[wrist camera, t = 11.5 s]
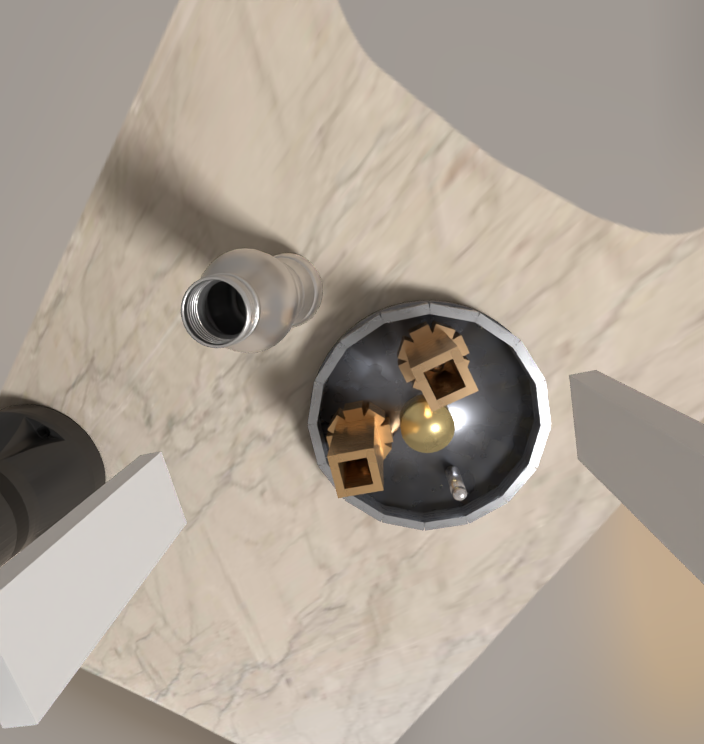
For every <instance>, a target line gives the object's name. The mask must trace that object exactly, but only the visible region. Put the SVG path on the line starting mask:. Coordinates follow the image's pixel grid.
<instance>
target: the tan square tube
mask: <svg viewBox="0 0 704 744" xmlns="http://www.w3.org/2000/svg"><path fill="white" fill-rule="evenodd" d="M408 331H409V333H410V335H411V337H412V338H409V337H406V336H403V337H402V340H401V343H400V346H399V348H398V351H397V357H398V358H399V360H397V362H398V366H399V368H400V370H401V372H402V374H403V376H404V378H405V380H406V382H410V381H411V383H412V387H413V388H415V389H418V390H421V391H422V393H423V395H424V397H425V399H426V401H427V403H428V405H429V407H430V409H431V411H432V412H433V411H435V410H437V409H440V408H442V407H444V406H446V405H448V404H451V403H453V402H455V401H457V400H459V399H462V398H464V397H466V396H468V395H470V394H473V393H475V392H477V391H479V390H478V388H477V386H476V384H475V382H474V380H473V378H472V375H471V373H470V371H469V369H468V364H469V362H470V360H469V359H468V358H467V357H466V356H465V355H467V354H469V350H468V348H467V346H466V344H465V342H464V340H463V338H462V335H461V334H459V333H458V332H455V329H454V328H453V327H452V326H448V325H445V324H442V323H439V322H436V321H433V322H432V325H431V328H430V327H429V325H428V324H427V322H426V321H425V322H423V323H421V324H419V325H417V326H415V327H413V328H411V329H409V330H408ZM443 363H444V368H443V369H442V370H441V371H440V372H433V371H431V370H430V369H432V368H434V367H436V366H438V365H441V364H443Z"/></svg>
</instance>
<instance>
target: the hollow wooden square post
mask: <svg viewBox="0 0 704 744" xmlns="http://www.w3.org/2000/svg"><path fill="white" fill-rule="evenodd" d="M327 430H328V433H327V436H326V438H327V442H328V445H329V451H328V455H327V458H328V462H329V466H330V469H331V473H332V477H333V481H334V484H335V488H336V492H337V496H338V498H342V497H348V496H354V495H359V494H365V493H371V492H377V491H383V490H384V480H383V460H384V459H385V458H386V456H387V455H388V453H389V452H390V451H391V449H392V442H393V432H392V428H391V423H390V419H389V416H388V417H385V411H384V410H383V409H381V408H380V407H378V406H376V405H375V404H373V403H371V402H369V403H368V405H367V406H366V408H364V404H363V400H361V401H356V402H351V403H346V404H345V406H344V409H341V408H339V409H338V410H337V412H336V413H335V415H334V416H333V418H332V419H331V421H330V423H329V426H328V429H327Z"/></svg>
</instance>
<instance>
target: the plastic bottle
mask: <svg viewBox="0 0 704 744" xmlns="http://www.w3.org/2000/svg"><path fill="white" fill-rule="evenodd" d="M322 296H323V285H322V281H321V277H320V275H319V273H318V271H317V270H316V268H315V267H314V265H313V264H312V263H311V262H309V261H308V260H307V259H305V258H304V257H302V256H299V255H297V254H292V253H282V254H278V255H274V256H271V255H270V254H267V253H265V252H262V251H259V250H256V249H249V248H243V249H235V250H232V251H228V252H226V253H224V254H222V255H221V256H219V257H217V258H216V259H215V260H214V261H213V262H212V263H211V264H210V265H209V266H208V267H207V269H206V270H205V271H204V273H203V274H202V276H201V278H200V279H199V280H197V281H196V282H194V283H193V284H192V285H191V286H190V287H189V288H188V290H187V291H186V292H185V294H184V297H183V299H182V304H181V317H182V321H183V324H184V326H185V328H186V330H187V332H188V333H189V334H190V336H191V337H192V338H193V339H195V340H196V341H197V342H198V343H200V344H202V345H204V346H207V347H211V348H224V347H225V348H227V349H230V350H233V351H237V352H242V353H257V352H261V351H265V350H267V349H269V348H271V347H273V346H275V345H276V344H277V343H279V342H280V341H281V340H282V339H283V338H284V337H285V336H286V334H287V333H288V332H289V331H290V329H291V328H293V327H297V326H300V325H302V324H304V323H306V322H307V321H309V320H310V319H311V318H312V317H313V316H314V315H315V314H316V312H317V310H318V309H319V307H320V304H321V301H322Z"/></svg>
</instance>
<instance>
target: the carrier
mask: <svg viewBox="0 0 704 744" xmlns="http://www.w3.org/2000/svg"><path fill="white" fill-rule="evenodd" d="M425 321H426V322H427V324H428V325H429V327H430V328H431V325H432V322H433V321H436V322H439V323H442V324H445V325H448V326H452V327H453V328H454V329H455V332H458V333H459V334H461V335H462V338H463V340H464V342H465V344H466V346H467V348H468V350H469V354H467V355H465V356H466V357H467V358H468V359H469V360H470V362H469V364H468V369H469V371H470V373H471V375H472V378H473V380H474V382H475V384H476V386H477V388H478V390H479V391H477V392H475V393H473V394H470V395H468V396H466V397H464V398H462V399H459V400H457V401H455V402H453V403H451V404H448V405H446V406H444V407H442V408H440V409H437V410H435V411H433V412H432V411H431V409H430V407H429V405H428V403H427V401H426V399H425V397H424V395H423V393H422V391H421V390H418V389H415V388H413V387H412V383H411V381H410V382H406V380H405V378H404V376H403V374H402V372H401V370H400V368H399V366H398V362H397V360H399V358H398V357H397V351H398V348H399V346H400V343H401V340H402V337H403V336H406V337H409V338H412V337H411V335H410V333H409V331H408V330H409V329H411V328H413V327H415V326H417V325H419V324H421V323H423V322H425ZM443 368H444V363H443V364H441V365H438V366H436V367H434V368H432V369H430V370H431V371H433V372H440V371H441V370H442V369H443ZM361 400H363V404H364V408H366V406H367V405H368V403H369V402H371V403H373V404H375V405H376V406H378V407H380V408H381V409H383V410H384V411H385V417H388V416H389V419H390V423H391V428H392V432H393V442H392V449H391V451H390V452H389V453H388V455H387V456H386V458H385V459H384V460H383V480H384V490H383V491H377V492H371V493H365V494H359V495H354V496H348V497H342V498H343V499H345V501H347V502H348V503H350V504H352V505H353V506H355V507H357V508H358V509H360V510H362V511H363V512H365V513H367V514H368V515H370V516H372V517H373V518H375V519H377V520H378V521H380V522H381V520H382V522H383V523H388V524H393V525H398V526H403V527H408V528H414V529H419V530H424V527H425V530H432V529H438V528H445V527H451V526H458V525H465V524H468V523H467V521H468V522H469V523H471V522H473V521H475V520H477V519H479V518H480V517H482V516H484V515H486V514H488V513H490V512H492V511H493V510H495V509H497V508H499V507H501V506H503V505H504V504H506V503H507V501H508V502H509V501H510V500H511V499H512V497H513V496H514V495H515V494H516V493H517V492H518V490H519V489H520V488H521V487H522V486H523V485H524V483H525V482H526V481H527V480H528V479H529V478H530V476H531V475H532V474H533V473H534V472H535V471H536V467H538V465H539V462H540V459H541V456H542V452H543V449H544V446H545V443H546V440H547V437H548V434H549V431H550V428H551V426H550V425H551V420H550V412H549V403H548V394H547V386H546V381H545V378H544V376H543V375H542V373H541V372H540V370H539V368H538V367H537V365H536V364H535V362H534V360H533V359H532V357H531V356H530V354H529V352H528V351H527V349H526V347H525V346H524V344H523V343H522V341H521V340H520V339H519V338H517V337H516V336H514V335H513V334H512V333H511V332H510V331H509V330H507V329H506V328H505V327H504V326H502V325H501V324H500V323H498V322H497V321H495V320H494V319H492V318H490V317H488V316H487V315H485V314H483V313H481V312H479V311H476V310H474V309H472V308H469V307H467V306H463V305H459V304H455V303H451V302H444V301H436V300H423V301H412V302H405V303H400V304H397V305H393V306H390V307H387V308H384V309H382V310H380V311H377V312H375V313H373V314H371V315H369V316H368V317H366V318H364V319H363V320H361V321H359V322H358V323H357V324H356V325H354V326H353V327H352V328H351V329H349V330H348V331H347V332H346V333H345V334H344V335H343V336H342V337H341V338H340V339H339V340H338V341H337V342H336V344H335V345H334V346H333V348H332V349H331V351H330V352H329V353H328V355H327V357H326V359H325V360H324V362H323V364H322V366H321V368H320V370H319V372H318V375H317V377H316V379H315V381H314V386H313V391H312V396H311V405H310V411H309V418H308V429H309V433H310V437H311V440H312V444H313V448H314V452H315V456H316V459H317V463H318V465H319V468H320V469H321V470H322V472H323V473H324V474H325V476H326V477H327V478H328V480H329V481H330V482H331V483H332V485H333V486H334V487H335V484H334V481H333V477H332V473H331V469H330V466H329V462H328V458H327V455H328V451H329V445H328V442H327V438H326V436H327V433H328V430H327V429H328V426H329V423H330V421H331V419H332V418H333V416H334V415H335V413H336V412H337V410H338V409H339V408H341V409H344V406H345V404H346V403H351V402H356V401H361ZM335 489H336V488H335ZM506 500H507V501H506Z"/></svg>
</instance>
